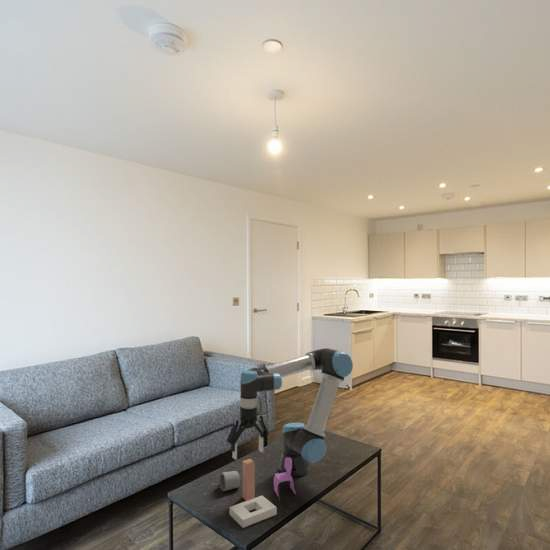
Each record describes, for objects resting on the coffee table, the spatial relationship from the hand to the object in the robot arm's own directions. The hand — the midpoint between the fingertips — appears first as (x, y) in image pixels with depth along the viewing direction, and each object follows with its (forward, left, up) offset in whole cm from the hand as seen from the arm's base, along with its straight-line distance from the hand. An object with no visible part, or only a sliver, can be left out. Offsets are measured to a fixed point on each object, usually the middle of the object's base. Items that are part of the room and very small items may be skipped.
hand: (248, 454), depth 176 cm
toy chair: (-16, +5, -19) cm, 26 cm away
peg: (0, 0, -19) cm, 19 cm away
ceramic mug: (+3, -13, -19) cm, 24 cm away
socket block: (+5, +12, -19) cm, 23 cm away
